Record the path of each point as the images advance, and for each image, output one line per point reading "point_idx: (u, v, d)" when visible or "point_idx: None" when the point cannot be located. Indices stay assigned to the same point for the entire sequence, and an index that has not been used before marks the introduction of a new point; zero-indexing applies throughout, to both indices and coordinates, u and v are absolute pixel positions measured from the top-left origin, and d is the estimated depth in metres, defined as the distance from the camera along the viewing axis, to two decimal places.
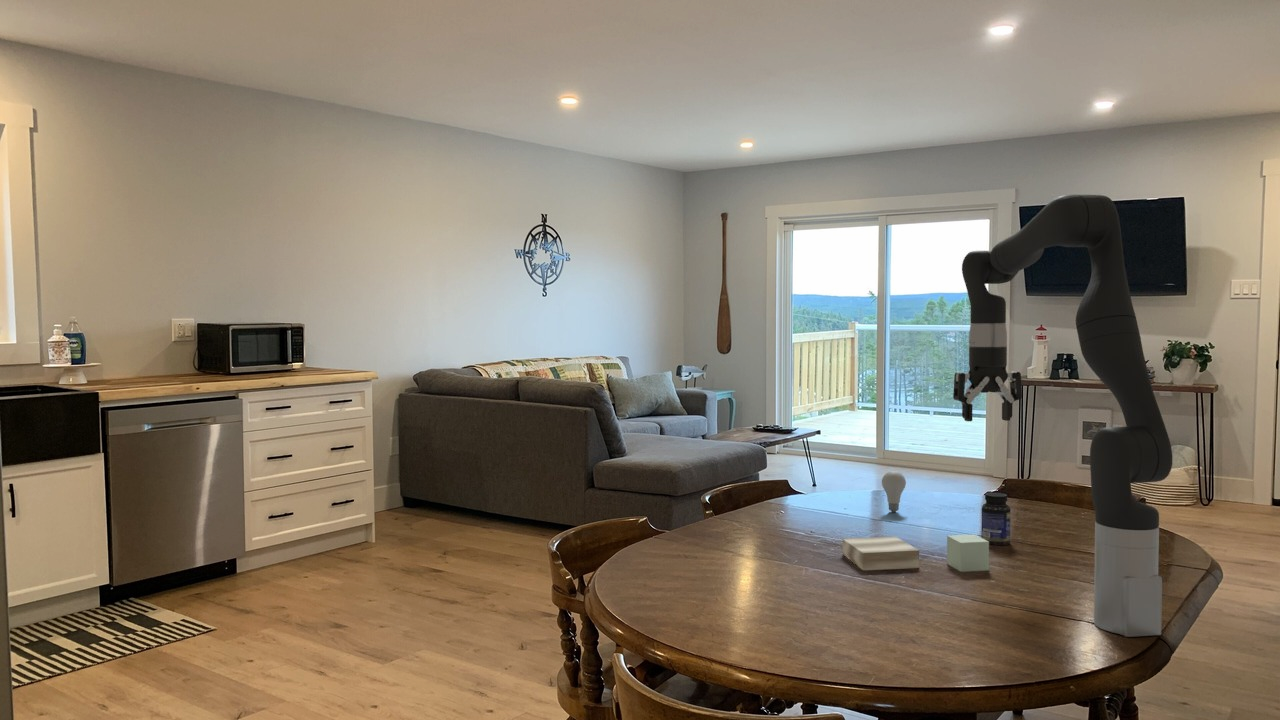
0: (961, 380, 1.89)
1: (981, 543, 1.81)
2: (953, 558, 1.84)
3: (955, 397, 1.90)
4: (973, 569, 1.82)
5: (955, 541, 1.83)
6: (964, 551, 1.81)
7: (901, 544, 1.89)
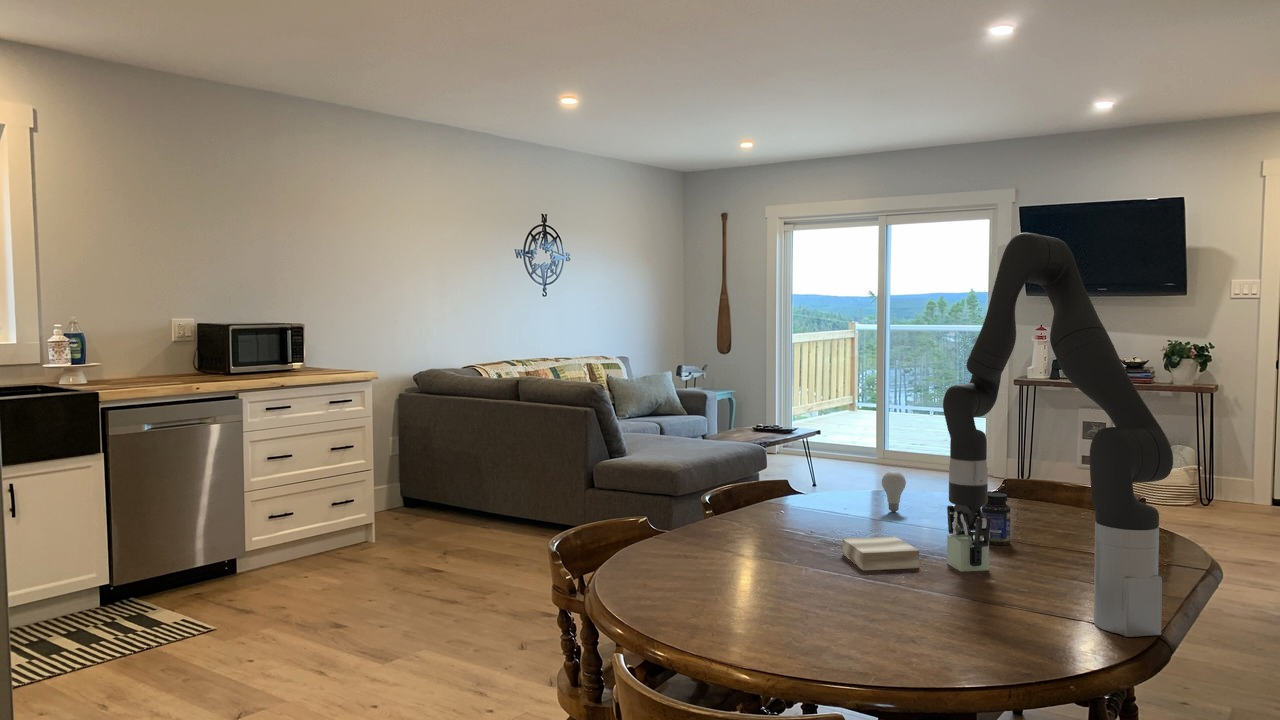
0: None
1: None
2: (953, 558, 1.84)
3: (981, 544, 1.78)
4: (973, 569, 1.82)
5: (956, 541, 1.83)
6: (964, 551, 1.81)
7: (901, 544, 1.89)
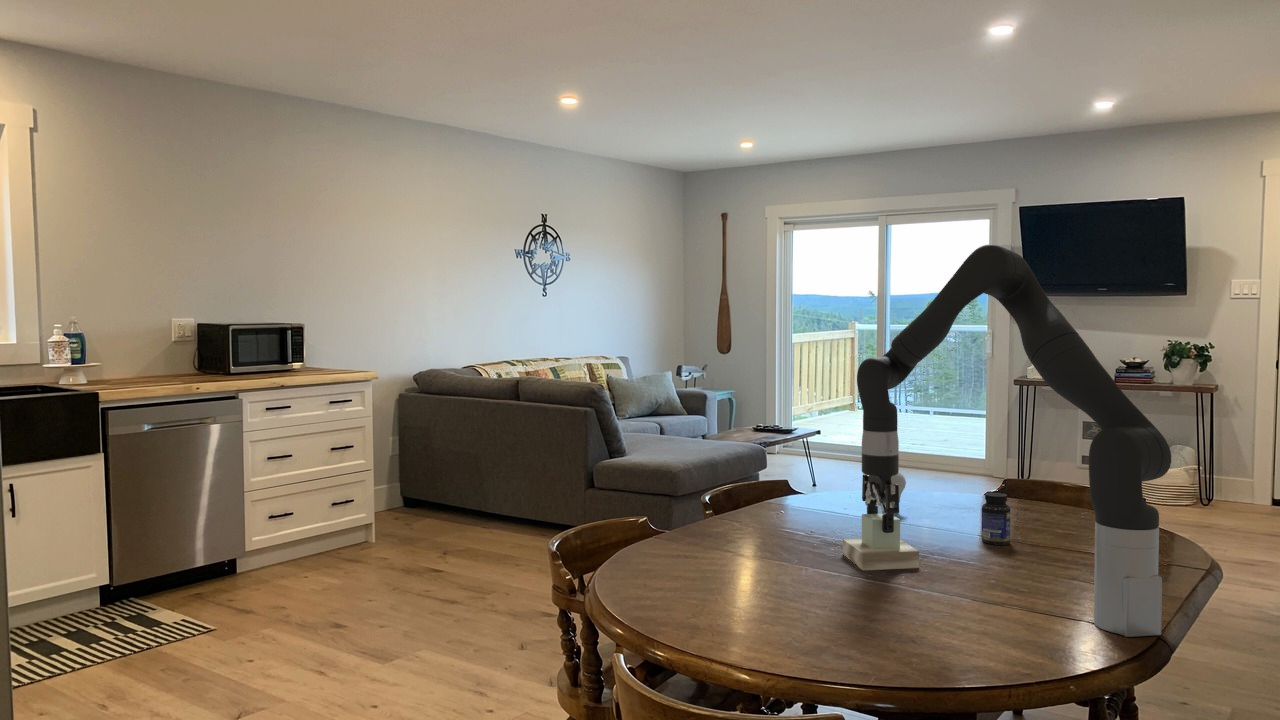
0: None
1: None
2: (866, 536, 1.89)
3: (892, 511, 1.82)
4: (884, 546, 1.86)
5: (868, 519, 1.88)
6: (875, 529, 1.86)
7: (901, 544, 1.89)
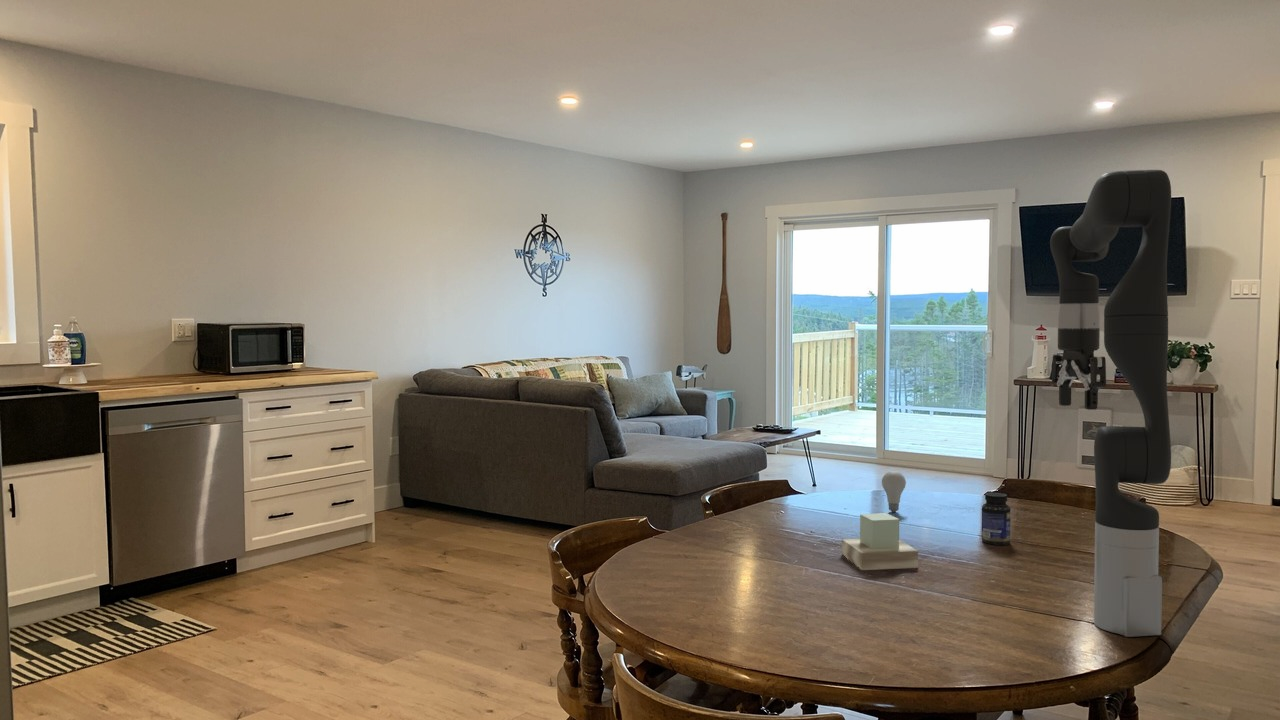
0: None
1: (892, 521, 1.86)
2: (865, 536, 1.89)
3: (1099, 384, 1.72)
4: (884, 546, 1.86)
5: (868, 519, 1.88)
6: (875, 529, 1.86)
7: (900, 544, 1.89)
